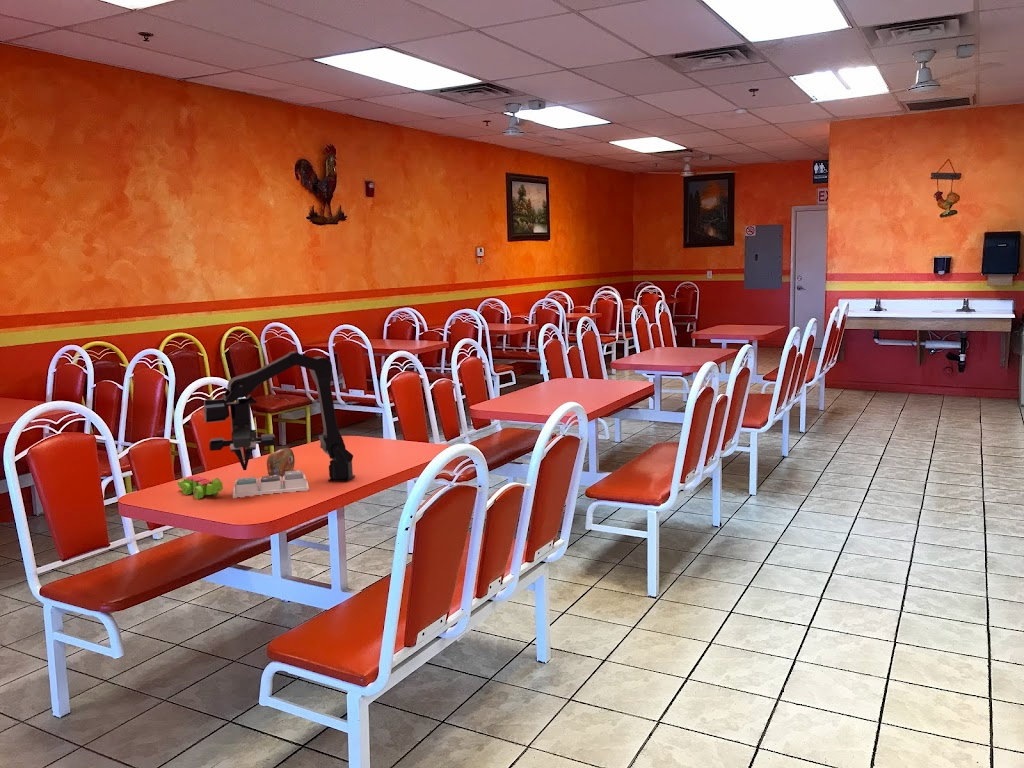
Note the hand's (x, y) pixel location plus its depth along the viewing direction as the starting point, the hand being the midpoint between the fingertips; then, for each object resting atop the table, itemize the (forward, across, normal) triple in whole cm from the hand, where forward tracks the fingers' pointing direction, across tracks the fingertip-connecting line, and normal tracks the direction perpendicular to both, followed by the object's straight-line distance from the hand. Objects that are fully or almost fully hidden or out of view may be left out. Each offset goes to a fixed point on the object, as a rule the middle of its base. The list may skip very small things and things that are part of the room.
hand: (244, 470), depth 253 cm
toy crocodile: (+8, -14, +4) cm, 16 cm away
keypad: (+7, +7, 0) cm, 10 cm away
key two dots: (+5, +14, 0) cm, 15 cm away
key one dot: (+5, 0, 0) cm, 6 cm away
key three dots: (+5, +7, 0) cm, 9 cm away
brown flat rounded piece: (+8, +11, +20) cm, 24 cm away
